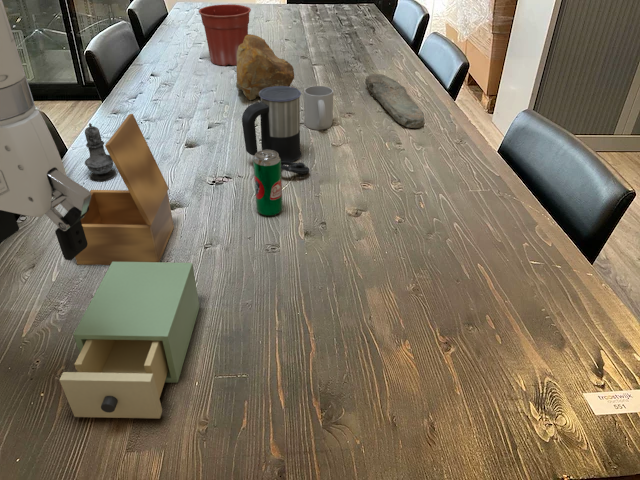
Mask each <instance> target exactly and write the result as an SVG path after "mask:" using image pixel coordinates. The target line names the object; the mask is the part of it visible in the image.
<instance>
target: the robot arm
mask: <svg viewBox="0 0 640 480" xmlns="http://www.w3.org/2000/svg"><path fill="white" fill-rule="evenodd" d="M16 43H17V42H16V41H15V37H14V34H13V30H12V27H11V24H10V22H9V17H8V15H7V11H6V9H5V4H4V2H3V0H0V244H2V243H3V242H5V241H6V240H8V239H9V238H11V237H12V236H13V235H15V234H16V233H17V232H19V230H20V226H19V224H18V221H17V218H16V216H15V214H17V215H22V216H25V217H32V218H40V217H43V216H47V217H48V219H49V220H50V221H51V222H52V223H53V224H54V225H55V226H56V227H57V229H55V230H54V233H55V236H56V239H57V242H58V245H59V248H60V251H61V253H62V257H63V259H64V260H65V261H66V260H67V261H72V260H74V259H75V256H77V255H78V254H79V253H80V252H81V251H83V250H84V249H85V248H86V247H87V245H88V243H87V240H86V236H85V233H84V230H83V226H82V223H81V219H82V218H83V217H84V215H85V214H86V213H87V212H88V211H89V203H90V199H91V193H90V191H91V190H88V189H87V188H85V186H82V185H81V184H79V183H78V182H76V181H74V180H73V179H72V178H70V177H68V176H67V175H68V174H67V171H66V169H65V165H64V162H63V161H62V158H61V154H60V152H59V150H58V147H57V145H56V143H55V140H54V139H53V136H52V134H51V132H50V130H49V127H48V124H47V123H46V121H45V119H44V118H43V116H42V114H41V112H40V110H37V107H36V104H35V99H34V97H33V94H32V92H31V91H32V90H31V87H30V85H29V82H28V81H29V80H28V79H27V75H26V72H25V70H24V66H23V63H22V60H21V56H20V53H19V50H18V47H17V44H16ZM52 198H54V199H52ZM59 205H61V206H62V207H63V208H64V210H66V211H67V212H66V213H65V214H64V215H62V214H61V213H60V212H59V210H57V209H56V207H58V206H59Z"/></svg>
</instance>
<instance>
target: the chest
mask: <svg viewBox="0 0 640 480" xmlns="http://www.w3.org/2000/svg"><path fill="white" fill-rule="evenodd" d="M89 191H90V193H91V199H90V203H89V211H88V212H87V213H86V214H85V215H84V217H83V218H82V219H81V223H82V226H83V230H84V233H85V236H86V240H87V243H88V245H87V247H86V248H85V249H84V250H83V251H81V252H80V253H79V254H78V255H77V256H75V257H74V259H75V260H76V261H75V262H76V265H78V266H79V265H83V266H110V265H111V263H112V262H161V259H162V257H163V254H164V252H165V250H166V247H167V246H168V242H169V240H170V238H171V236H172V233H173V230H174V229H175V226H174V220H173V219H174V218H173V215H172V214H173V213H172V209H171V202H170V198H169V190H168V191H167V193H166V195H165V197H164V199H163V201H162V203H161V206H160V208H159V210H158V212H157V214H156V216H155V218H154V220H153V222H152V224H151V225H148V226H147V224H146V222H145V220H144V218H143V216H142V215H141V213H140V211H139V209H138V207H137V205H136V203H135V201H134V200H133V198H132V196H131V194H130V192H129V190H128V189H124V190H123V189H91V190H89Z"/></svg>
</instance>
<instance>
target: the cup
mask: <svg viewBox="0 0 640 480" xmlns="http://www.w3.org/2000/svg"><path fill="white" fill-rule="evenodd" d="M303 102H304V103H303V105H304V106H303V110H304V111H303V112H304V115H303V118H304V119H303V120H304V126H305V127H306V128H307V129H310V130H313V131H324V130H328V129H329V128H331V127H332V125H333V119H334V115H333V113H334V90H333V88H331V87H330V86H326V85H312V86H308V87H306V88H304V89H303Z"/></svg>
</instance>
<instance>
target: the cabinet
mask: <svg viewBox="0 0 640 480" xmlns="http://www.w3.org/2000/svg"><path fill="white" fill-rule="evenodd" d="M195 276H196V275H195V270H194V263H193V262H171V261H170V262H165V261H164V262H163V261H162V262H161V261H160V262H112V263H111V265H109V267H108V269H107V271H106V273H105V275H104V276H103V278H102V280H101V282H100V284H99V286H98V287H97V289H96V291H95V293H94V295H93V297H92V299H91V300H90V301H89V304H88V306H87V308H86V310H85V312H84V313H83V315H82V317H81V319H80V321H79V323H78V325H77V326H76V329H75V330H74V333H73V334H72V335H73V338H74V342H75V345H76V347H77V349H78V352H79V354H80V352H81V350H82V348H83V346H84V344H85V342H86V340H87V339H101V340H161V341H163V345H164V350H165V354H166V358H167V363H168V367H169V370H168V373H167V376H166V380H165V383H176V384H177V383H179V381H180V378H181V377H180V376H181V373H182V369H183V367H184V363H185V359H186V355H187V352H188V348H189V345H190V342H191V338H192V334H193V331H194V327H195V325H196V321H197V317H198V315H199V310H200V306H201V305H200V300H199V295H198V294H199V293H198V288H197V283H196V277H195Z"/></svg>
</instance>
